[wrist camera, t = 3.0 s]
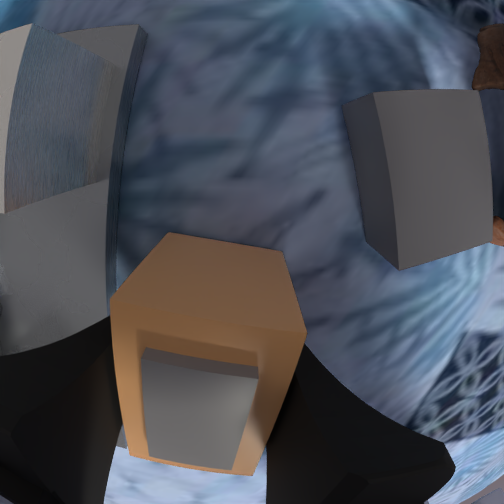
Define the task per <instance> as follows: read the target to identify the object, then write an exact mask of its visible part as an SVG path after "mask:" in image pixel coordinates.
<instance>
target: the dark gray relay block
mask: <svg viewBox="0 0 504 504" xmlns="http://www.w3.org/2000/svg"><path fill="white" fill-rule="evenodd" d="M341 106H342V110H343V114H344V118H345V123H346V127H347V132H348V136H349V141H350V145H351V150H352V155H353V160H354V166H355V171H356V177H357V182H358V188H359V194H360V200H361V207H362V214H363V221H364V229H365V237H366V242H367V243H368V244H369V245H370V246H371V247H373V248H374V249H375V250H376V251H377V252H378V253H379V254H381V255H382V256H383V257H384V258H385V259H386V260H387V261H389V262H390V263H391V264H392V265H393V266H394V267H395V268H396V269H397V270H399V271H400V270H404V269H407V268H411V267H414V266H417V265H421V264H424V263H427V262H430V261H434V260H437V259H440V258H443V257H446V256H449V255H452V254H456V253H459V252H462V251H465V250H468V249H471V248H474V247H477V246H480V245H482V244H485V243H488V242H491V241H492V239H493V195H492V177H491V165H490V155H489V146H488V139H487V132H486V126H485V120H484V114H483V109H482V104H481V99H480V95H479V91H478V90H459V89H424V90H399V91H384V92H372V93H370V94H368V95H365V96H363V97H360V98H358V99H355V100H353V101H351V102H348V103H346V104H344V105H341Z"/></svg>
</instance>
